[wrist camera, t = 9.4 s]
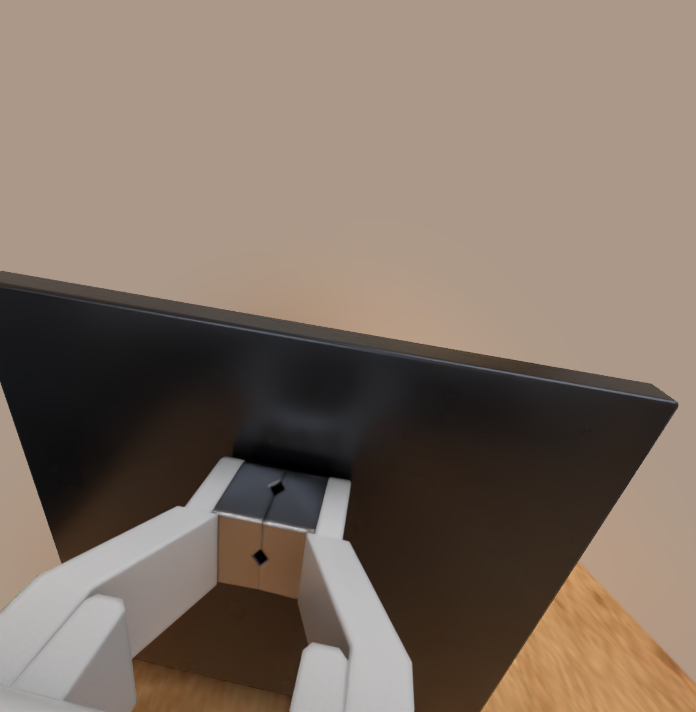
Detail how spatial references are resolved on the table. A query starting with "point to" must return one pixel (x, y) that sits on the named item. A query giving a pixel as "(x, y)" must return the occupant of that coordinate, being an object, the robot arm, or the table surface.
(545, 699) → the table surface
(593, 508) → the laptop screen
